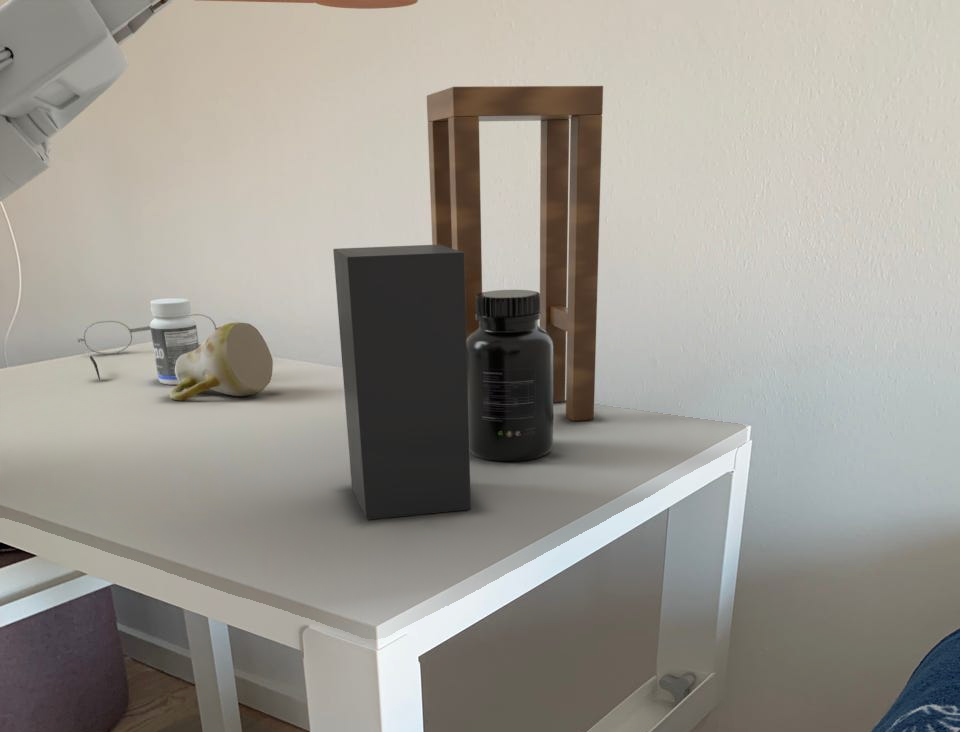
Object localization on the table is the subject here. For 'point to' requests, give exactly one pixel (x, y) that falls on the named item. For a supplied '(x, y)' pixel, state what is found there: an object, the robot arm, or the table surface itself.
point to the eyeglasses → (129, 342)
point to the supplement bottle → (509, 378)
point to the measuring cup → (343, 3)
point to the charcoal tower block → (405, 377)
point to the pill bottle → (171, 335)
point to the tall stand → (461, 211)
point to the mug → (225, 364)
